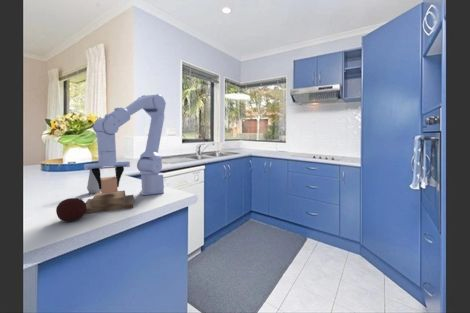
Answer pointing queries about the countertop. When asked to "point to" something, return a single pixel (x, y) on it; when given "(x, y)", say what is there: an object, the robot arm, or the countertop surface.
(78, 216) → the potato
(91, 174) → the salt shaker
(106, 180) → the cube
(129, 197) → the base
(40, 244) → the countertop surface
